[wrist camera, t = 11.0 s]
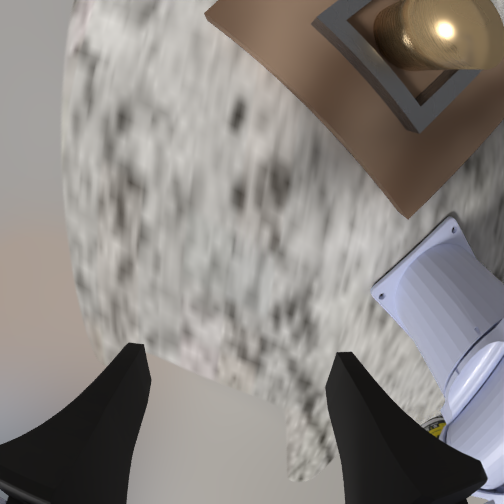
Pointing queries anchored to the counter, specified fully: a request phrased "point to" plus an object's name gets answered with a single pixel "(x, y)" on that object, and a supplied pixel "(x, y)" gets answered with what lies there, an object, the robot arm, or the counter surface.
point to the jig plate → (365, 95)
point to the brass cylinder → (440, 34)
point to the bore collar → (389, 70)
